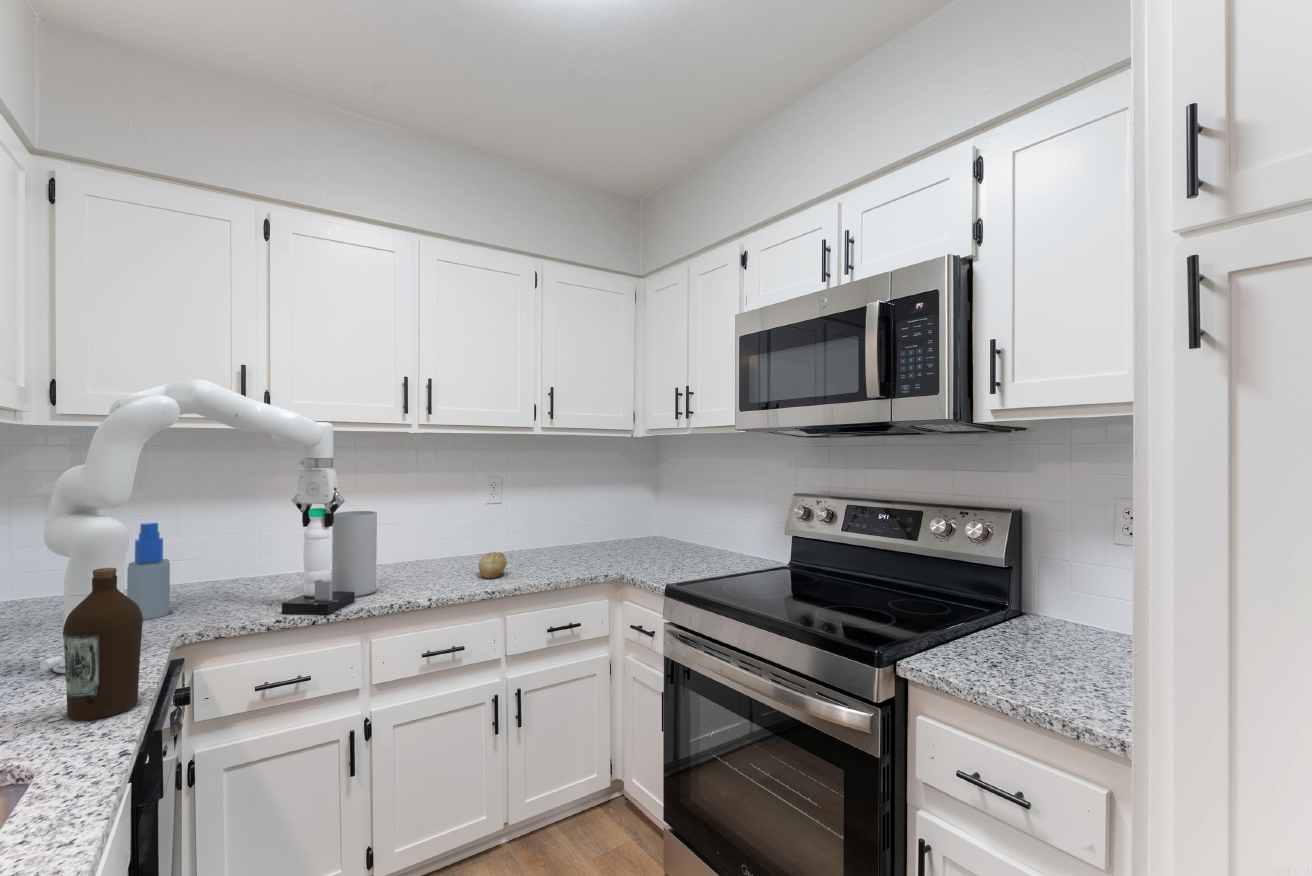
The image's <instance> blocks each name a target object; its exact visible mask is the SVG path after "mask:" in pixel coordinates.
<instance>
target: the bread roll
mask: <svg viewBox="0 0 1312 876" xmlns="http://www.w3.org/2000/svg"><path fill="white" fill-rule="evenodd" d="M507 565H508V561H507V557H506V555H504V553H502V552H501V551H500V552H495V551H493V552H488V553H485V554H484V555H483V556H482V557H481V558H480V559H479V562H478V571H479V573H480V575H481V576H482V577H483V578H485V579H488V580H491V579H495V578H497V577H500V575H502V574H503V572H504V570H505V569H506V567H507Z"/></svg>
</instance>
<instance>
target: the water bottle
mask: <svg viewBox="0 0 1312 876" xmlns="http://www.w3.org/2000/svg"><path fill="white" fill-rule="evenodd" d="M326 513H327V511H326V509H325V507H314V508H311V509H310V510H309V518H310V523H309V524H308V526H307V527H305V530H304V532H303V538H304V542H303V575H302V576H303V586H302V587H303V588H302V593H303V594H304V595H305V596H307V597H315V581H316V580H322V581H331V579H332V569H331V565H332V539H331V536H332V530H331V527H325V514H326ZM303 594H302V595H303Z"/></svg>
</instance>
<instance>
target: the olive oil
mask: <svg viewBox="0 0 1312 876" xmlns="http://www.w3.org/2000/svg"><path fill="white" fill-rule="evenodd" d="M143 623H144V620H143V616H142V613H141V610H140V608H139V606H138V605H137V604H136V603H135V602H134V601H133V600H131V599H130V598H128V597H127V594H125V593H124V594H123V593H121V592H120V591H119V590H118V589H117V576H116V568H101V569H96V570H94V571H93V578H92V592H91V593H90V594H89V595H88V596H87V597H86V598H85V599H84V600H83V601H82V602H81V603H80V604H79V605H78V606H76V607H75V608H74V609H73V610H72V611H71V612H70V614H69V615H68V617H67V619H66V622H65V624H64V623H63V628H62V639H63V640H62V641H63V648H64V655H65V672H66V673H65V688H66V689H65V690H66V716H67V718H68V719H69V720H71V721H76V722H85V721H94V720H100V719H105V718H109V717H113V716H116V715H119V714H122V713H124V712H127V711H129V710H131V709H133V708H134V707H135V706H136V705H137V704H138V702H139V701H138V700H139V680H140V665H141V663H140V662H141V650H142V649H141V648H142V634H143Z"/></svg>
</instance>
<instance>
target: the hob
mask: <svg viewBox="0 0 1312 876" xmlns="http://www.w3.org/2000/svg"><path fill="white" fill-rule="evenodd" d="M355 598H356V597H355V592H342V591H332V601H330V602H318V601H315V597H307V596H305V595H304V594H301V595H299V596H296V597H293V598H291V599H288V600H287V601H284V602H281V615H306V616H308V615H309V616H329V615H331V614H332V613H335V612H337V611H339V610H341V609H343V608H345V607H347V606H349V605H351V604H353V603H355V601H356V600H355Z"/></svg>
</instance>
